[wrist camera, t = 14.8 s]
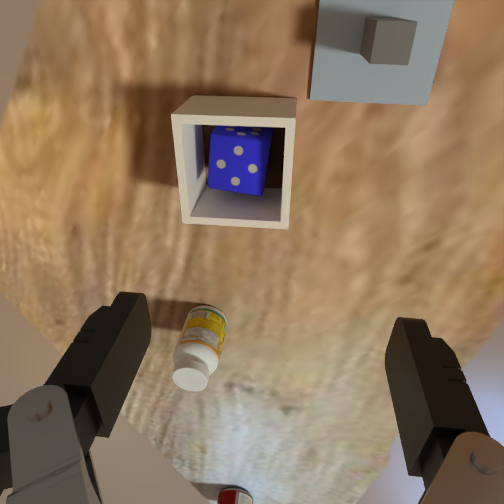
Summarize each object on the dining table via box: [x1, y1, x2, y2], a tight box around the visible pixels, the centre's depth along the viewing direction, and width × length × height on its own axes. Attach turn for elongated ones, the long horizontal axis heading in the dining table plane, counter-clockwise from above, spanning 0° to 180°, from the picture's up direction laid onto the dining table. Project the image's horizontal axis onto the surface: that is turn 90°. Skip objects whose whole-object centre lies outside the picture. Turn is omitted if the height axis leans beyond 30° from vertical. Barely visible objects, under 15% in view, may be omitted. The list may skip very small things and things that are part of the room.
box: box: [171, 95, 297, 229], centre depth 34 cm, size 9×9×7 cm
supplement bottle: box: [172, 305, 227, 391], centre depth 46 cm, size 5×5×10 cm
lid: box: [310, 0, 454, 105], centre depth 28 cm, size 10×10×6 cm
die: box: [208, 125, 273, 196], centre depth 35 cm, size 5×5×5 cm
